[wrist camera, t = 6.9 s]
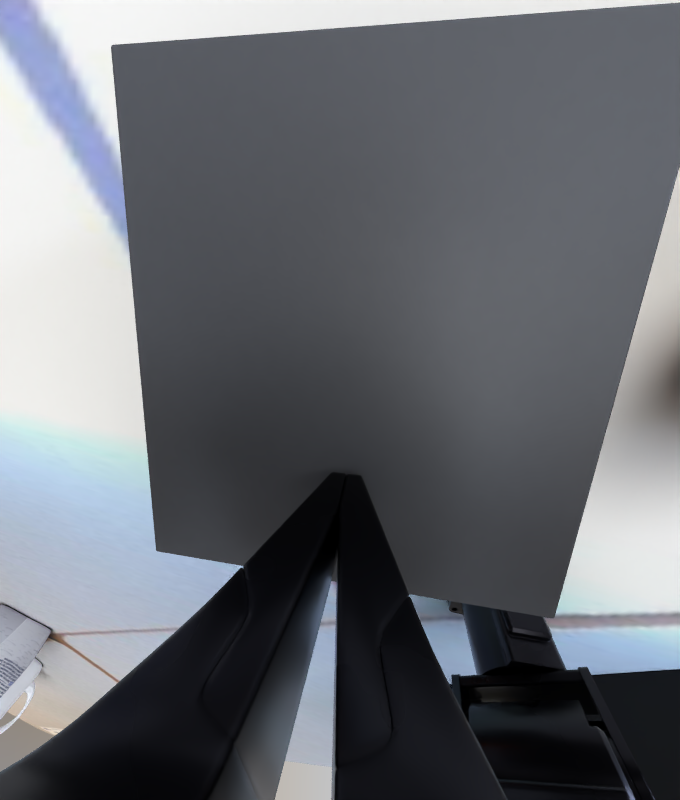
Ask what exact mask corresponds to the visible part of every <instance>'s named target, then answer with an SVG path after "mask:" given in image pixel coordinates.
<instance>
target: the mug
mask: <svg viewBox="0 0 680 800" xmlns="http://www.w3.org/2000/svg"><path fill="white" fill-rule="evenodd" d="M41 669H42V664H41V663H40V662H39V661H38V660H37V659H36V658H34V659H33V661H32V662H31V664H30V665H29V666H28V667H27V669H26V670H25V671H24V672H23V673H22V674H21V676H20V677H19V678H18V679H17V680H16V681H15V682H14V684H13V685H12V686H11V687H10V688H9V689H8V690H7V692H6V693H5V694H4V695H3V696H2V697H1V698H0V719H1V718H2V717H3V716H4V715H5V713H6V712H7V711H8V710H9V709H10V707H11V706H12V705H13V704H14V703H15V702H16V700H17V699H18V698H19V697H20V696H21V694H22V693H23V692H25V693H26V694H27V701H26V704H25V706H24V708H23V709H22V711H21V712H20V713H19V714H18V715H17V716H16V717H15V718H14V719H13V720H12V721H11V722H9V723H8V724H6V725H4V726H2V727H0V734H1V733H3V732H4V731H5V730H7V729H8V728H9V727H10V726H11V725H12V724H13V723H14V722H15V721H16V720H17V719H18V718H19V717H20V715H21V714H22V713H23V712H24V710H25V709H26V707H27V706H28V704H29V703H30V701H31V699H32V697H33V695H34V692H35V682H34V679H35V678H36V677H37V675H38V674H39V673H40V671H41Z"/></svg>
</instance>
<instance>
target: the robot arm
mask: <svg viewBox="0 0 680 800" xmlns="http://www.w3.org/2000/svg"><path fill="white" fill-rule="evenodd" d="M337 555H338V558H337ZM336 560H337V594H336V634H335V675H334V715H333V755H332V798H331V800H655V799H654V797H653V795H652V793H651V791H650V789H649V787H648V785H647V783H646V781H645V779H644V777H643V775H642V773H641V771H640V769H639V767H638V765H637V763H636V761H635V759H634V757H633V755H632V753H631V751H630V749H629V748H628V746H627V744H626V742H625V740H624V738H623V736H622V734H621V732H620V730H619V728H618V726H617V724H616V722H615V720H614V718H613V716H612V714H611V712H610V710H609V709H608V707H607V705H606V703H605V701H604V699H603V697H602V695H601V693H600V691H599V689H598V687H597V685H596V683H595V681H594V679H593V677H592V675H591V673H590V672H589V670H588V668H587V667H578V670H566V668H565V665H564V663H563V661H562V659H561V656H560V654H559V652H558V650H557V648H556V645H555V643H554V641H553V639H552V634H551V632H550V630H549V627H548V625H547V623H546V621H545V618H544V617H541V616H536V615H530V614H524V613H518V612H512V611H506V610H500V609H494V608H488V607H483V606H477V605H471V604H465V603H459V602H453V601H449V603H448V606H449V610H450V611H451V612H455V613H460V614H463V615H464V620H465V624H466V629H467V633H468V637H469V642H470V646H471V651H472V655H473V660H474V664H475V669H476V673H477V675H471V676H460V675H459V674H458V675H452V689H451V687H450V685H449V683H448V681H447V679H446V677H445V675H444V673H443V671H442V669H441V667H440V665H439V663H438V661H437V659H436V656H435V654H434V652H433V650H432V648H431V646H430V643H429V641H428V639H427V636H426V634H425V632H424V629H423V627H422V625H421V622H420V620H419V618H418V615H417V613H416V610H415V608H414V605H413V603H412V600H411V598H410V597H408V596H409V593H408V590H407V588H406V585H405V583H404V580H403V578H402V575H401V573H400V570H399V568H398V565H397V563H396V560H395V558H394V555H393V553H392V550H391V548H390V545H389V543H388V540H387V538H386V535H385V533H384V530H383V528H382V525H381V523H380V520H379V518H378V515H377V513H376V510H375V508H374V505H373V503H372V500H371V498H370V495H369V492H368V490H367V487H366V485H365V482H364V480H363V478H362V476H361V475H355V474H347V476H346V474H345V473H339V472H332V473H330V474H329V475H328V476H327V477H326V479H325V480H324V481H323V482H322V483H321V484H320V485H319V486H318V487H317V488H316V489H315V490H314V491H313V492H312V493H311V494H310V495H309V497H308V498H307V499H306V500H305V501H304V502H303V503H302V504H301V505H300V506H299V507H298V508H297V509H296V510H295V511H294V512H293V513H292V514H291V516H290V517H289V518H288V519H287V520H286V521H285V522H284V523H283V524H282V525H281V526H280V527H279V528H278V529H277V530H276V531H275V532H274V533H273V535H272V536H271V537H270V538H269V539H268V540H267V541H266V542H265V543H264V544H263V545H262V546H261V547H260V548H259V549H258V550H257V551H256V552H255V554H254V555H253V556H252V557H251V558H250V559H249V560H248V561H247V562H246V563H245V564H244V566H243V568H244V569H243V568H240V569H239V570H238V571H237V572H236V573H235V574H234V576H233V577H232V578H231V579H230V580H229V581H228V582H227V583H226V584H225V585H224V586H223V587H222V588H221V589H220V590H219V591H218V592H217V593H216V594H215V595H214V596H213V597H212V598H211V599H210V600H209V601H208V602H207V603H206V604H205V605H204V606H203V607H202V608H201V609H200V610H199V611H198V612H197V613H195V614H194V615H193V616H192V617H191V618H190V619H189V620H188V621H187V622H186V623H185V624H184V625H182V626H181V627H180V628H179V629H178V630H177V631H176V632H175V633H174V634H173V635H171V636H170V637H169V638H168V639H167V640H166V641H165V642H164V643H162V644H161V645H160V646H159V647H158V648H157V649H156V650H155V651H153V652H152V653H151V654H150V655H149V656H148V657H147V658H146V659H144V660H143V661H142V662H141V663H140V664H139V665H138V666H137V667H135V668H134V669H133V670H132V671H131V672H130V673H129V674H128V675H126V676H125V677H124V678H123V679H122V680H121V681H120V682H119V683H117V684H116V685H115V686H114V687H113V688H112V689H111V690H110V691H108V692H107V693H106V694H105V695H104V696H103V697H102V698H101V699H99V700H98V701H97V702H96V703H95V704H94V705H93V706H92V707H90V708H89V709H88V710H87V711H86V712H85V713H83V714H82V715H81V716H80V717H79V718H78V719H76V720H75V721H74V722H72V723H71V724H70V725H69V726H67V727H66V728H65V729H64V730H62V731H61V732H60V733H58V734H57V735H56V736H54V737H53V738H51V739H50V740H49V741H47V742H46V743H45V744H43V745H42V746H40V747H39V748H37V749H36V750H34V751H33V752H31V753H30V754H28V755H27V756H25V757H24V758H22V759H21V760H19V761H18V762H16V763H14V764H13V765H11V766H9V767H8V768H6V769H4V770H3V771H1V772H0V800H275V796H276V792H277V788H278V784H279V780H280V777H281V773H282V769H283V765H284V761H285V758H286V754H287V750H288V746H289V742H290V738H291V734H292V731H293V727H294V723H295V719H296V715H297V711H298V707H299V704H300V700H301V696H302V692H303V688H304V684H305V680H306V677H307V673H308V669H309V665H310V661H311V657H312V653H313V650H314V646H315V642H316V638H317V634H318V630H319V626H320V623H321V619H322V615H323V611H324V607H325V603H326V599H327V596H328V592H329V588H330V584H331V580H332V576H333V572H334V569H335V564H336ZM586 715H600V717H601V719H602V721H588V718H587V716H586Z"/></svg>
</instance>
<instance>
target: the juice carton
mask: <svg viewBox="0 0 680 800" xmlns="http://www.w3.org/2000/svg"><path fill="white" fill-rule="evenodd" d="M50 633H51V630H50V629H48V628H47V627H45V626H43V625H41V624H39V623H37V622H35V621H33V620H32V619H30V618H28V617H26V616H24V615H22V614H20V613H19V612H17V611H15V610H13V609H11V608H9V607H7V606H5V605H0V698H1V697H2V696H3V695H4V694H5V693H6V692H7V690H8V689H9V688H10V687H11V686H12V685H13V684H14V682H15V681H16V680H17V679H18V678H19V677H20V676H21V674H22V673H23V672H24V671H25V670H26V669H27V667H28V666H29V665H30V664H31V662H32V661H33V659H34V658H35V657H36V655H37V654H38V652H39V651H40V649H41V647H42V646H43V644H44V643H45V641H46V640H47V638H48V636H49V635H50Z"/></svg>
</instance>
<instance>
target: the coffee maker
mask: <svg viewBox="0 0 680 800" xmlns="http://www.w3.org/2000/svg"><path fill="white" fill-rule="evenodd" d="M592 677H593V679H594V681H595V683H596V685H597V687H598V689H599V691H600V693H601V695H602V697H603V699H604V701H605V703H606V705H607V707H608V709H609V710H610V712H611V714H612V716H613V718H614V720H615V722H616V724H617V726H618V728H619V730H620V732H621V734H622V736H623V738H624V740H625V742H626V744H627V746H628V748H629V749H630V751H631V753H632V755H633V757H634V759H635V761H636V763H637V765H638V767H639V769H640V771H641V773H642V775H643V777H644V779H645V781H646V783H647V785H648V787H649V789H650V791H651V793H652V795H653V797H654V799H655V800H680V670H670V671H655V672H640V673H624V674H609V675H594V676H592ZM586 716H587V718H588V721H602V719H601V717H600V715H586Z"/></svg>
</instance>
